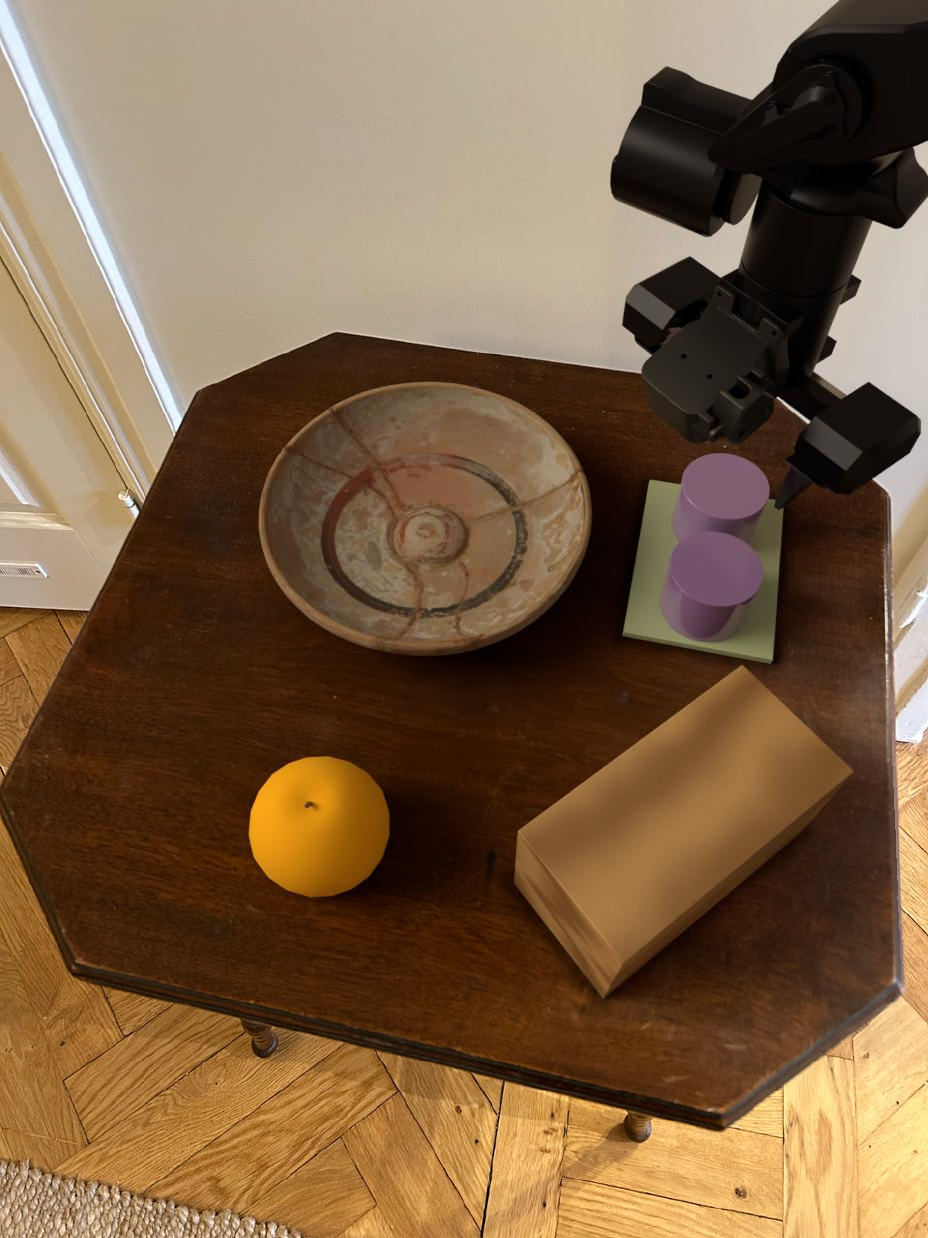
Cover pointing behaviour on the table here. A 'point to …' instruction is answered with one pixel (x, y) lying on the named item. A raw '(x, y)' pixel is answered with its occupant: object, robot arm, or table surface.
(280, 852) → the orange
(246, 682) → the table surface
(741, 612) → the purple round puck
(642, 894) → the block
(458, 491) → the ceramic bowl
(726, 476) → the lavender cylinder puck
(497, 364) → the table surface
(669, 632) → the placemat
